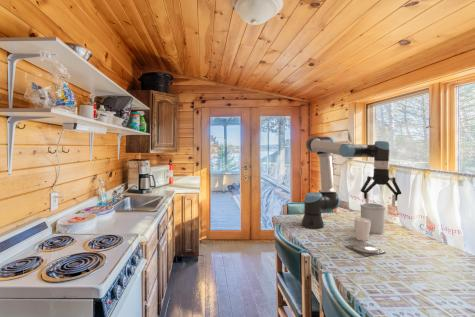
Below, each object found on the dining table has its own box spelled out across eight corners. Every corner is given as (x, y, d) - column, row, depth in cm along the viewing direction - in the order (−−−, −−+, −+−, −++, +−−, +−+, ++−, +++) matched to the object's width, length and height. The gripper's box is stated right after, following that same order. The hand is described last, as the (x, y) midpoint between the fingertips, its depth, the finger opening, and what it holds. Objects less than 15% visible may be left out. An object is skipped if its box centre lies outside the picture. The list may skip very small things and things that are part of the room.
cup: (372, 242, 146) (372, 222, 145) (355, 241, 147) (356, 221, 147) (367, 236, 154) (368, 218, 154) (352, 235, 156) (352, 217, 156)
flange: (345, 246, 139) (345, 243, 139) (363, 243, 144) (363, 240, 144) (365, 256, 126) (366, 253, 126) (385, 252, 130) (385, 250, 130)
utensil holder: (380, 235, 157) (380, 208, 156) (356, 229, 168) (356, 204, 167) (388, 230, 167) (388, 205, 166) (365, 225, 178) (365, 201, 177)
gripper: (358, 168, 139) (357, 205, 140) (409, 169, 132) (407, 208, 133) (355, 167, 146) (354, 202, 147) (403, 168, 140) (402, 205, 140)
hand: (379, 205), depth 140 cm, fingers open, 13 cm apart
